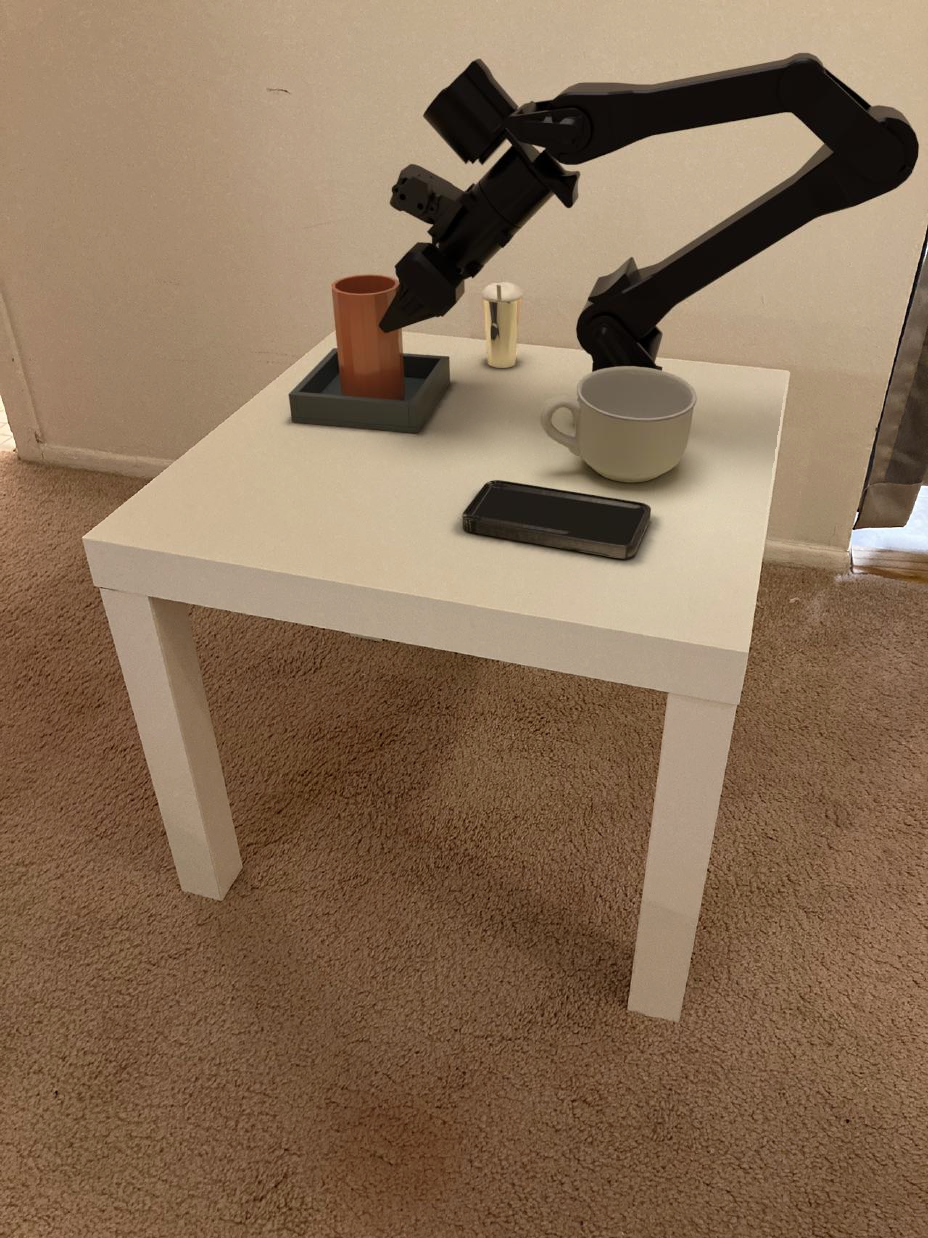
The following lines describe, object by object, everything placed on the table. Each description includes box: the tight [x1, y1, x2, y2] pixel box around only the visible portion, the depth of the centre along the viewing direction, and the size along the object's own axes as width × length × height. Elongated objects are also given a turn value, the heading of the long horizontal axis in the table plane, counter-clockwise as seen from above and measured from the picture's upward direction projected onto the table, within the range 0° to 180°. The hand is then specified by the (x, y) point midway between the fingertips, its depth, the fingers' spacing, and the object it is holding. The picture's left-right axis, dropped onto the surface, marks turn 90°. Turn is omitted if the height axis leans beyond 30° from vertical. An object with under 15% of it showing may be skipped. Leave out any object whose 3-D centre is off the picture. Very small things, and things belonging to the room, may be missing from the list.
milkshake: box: [481, 281, 523, 369], centre depth 112 cm, size 4×5×10 cm
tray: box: [288, 347, 451, 434], centre depth 106 cm, size 14×14×3 cm
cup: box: [330, 273, 405, 400], centre depth 103 cm, size 7×7×12 cm
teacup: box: [539, 366, 698, 484], centre depth 91 cm, size 14×11×8 cm
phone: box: [462, 479, 652, 559], centre depth 84 cm, size 8×1×15 cm
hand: (395, 314), depth 101 cm, fingers open, 9 cm apart
